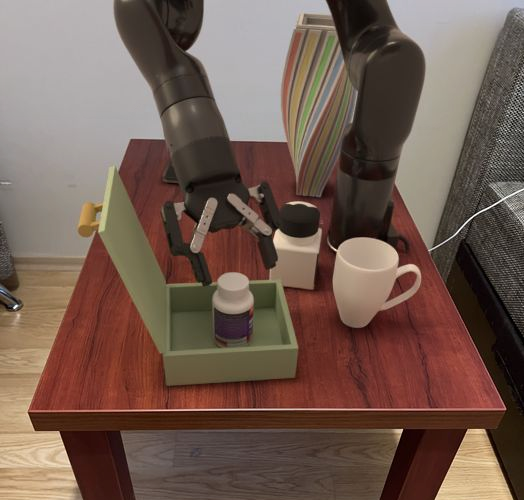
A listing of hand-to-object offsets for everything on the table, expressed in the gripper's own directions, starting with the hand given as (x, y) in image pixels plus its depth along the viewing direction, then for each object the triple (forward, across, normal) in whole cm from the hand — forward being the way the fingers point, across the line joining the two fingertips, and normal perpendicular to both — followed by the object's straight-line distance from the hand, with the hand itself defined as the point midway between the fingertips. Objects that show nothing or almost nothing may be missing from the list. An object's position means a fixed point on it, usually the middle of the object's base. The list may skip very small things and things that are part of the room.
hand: (240, 276), depth 66 cm
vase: (-17, +33, +35) cm, 51 cm away
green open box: (+7, -1, +10) cm, 12 cm away
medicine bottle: (0, +15, +17) cm, 23 cm away
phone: (-30, +14, +48) cm, 58 cm away
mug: (+10, +20, +7) cm, 24 cm away
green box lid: (-5, -11, +2) cm, 12 cm away
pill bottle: (+7, 0, +9) cm, 12 cm away
